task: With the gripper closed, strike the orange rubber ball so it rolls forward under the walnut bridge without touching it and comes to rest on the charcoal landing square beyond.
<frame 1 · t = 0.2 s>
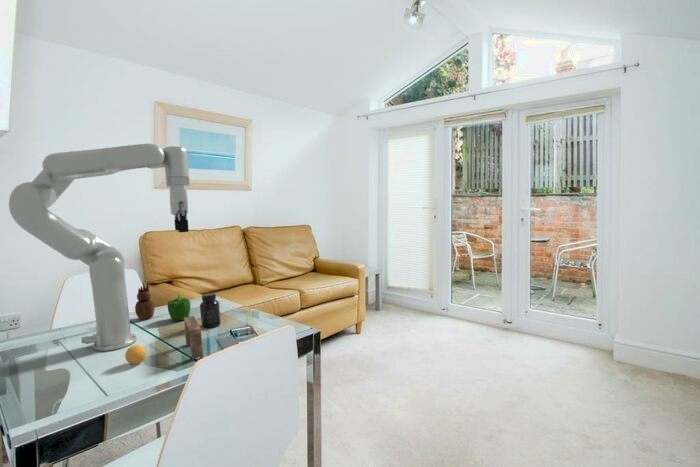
hand: (181, 231, 138), 36 cm above the table, tool pointing down, fingers open, 9 cm apart
supplement bottle: (211, 326, 146), on the table
ball: (135, 354, 115), on the table
bell pepper: (180, 319, 155), on the table
wooden figurine: (146, 318, 158), on the table
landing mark: (238, 341, 130), on the table
bridge: (194, 350, 123), on the table
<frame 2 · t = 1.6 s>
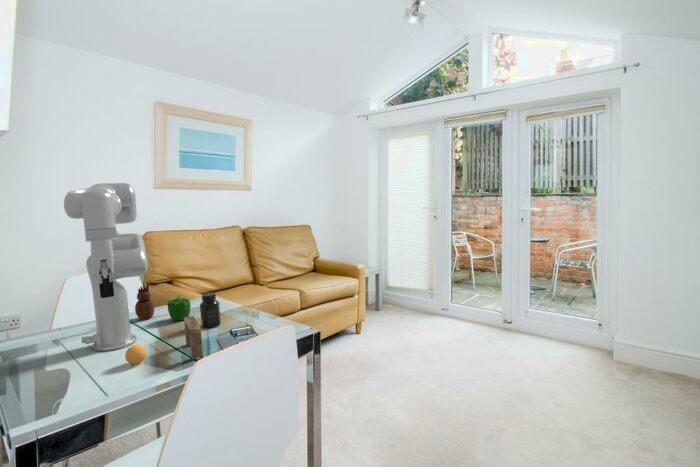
hand: (107, 294, 112), 21 cm above the table, tool pointing down, fingers open, 9 cm apart
nothing on the table moved.
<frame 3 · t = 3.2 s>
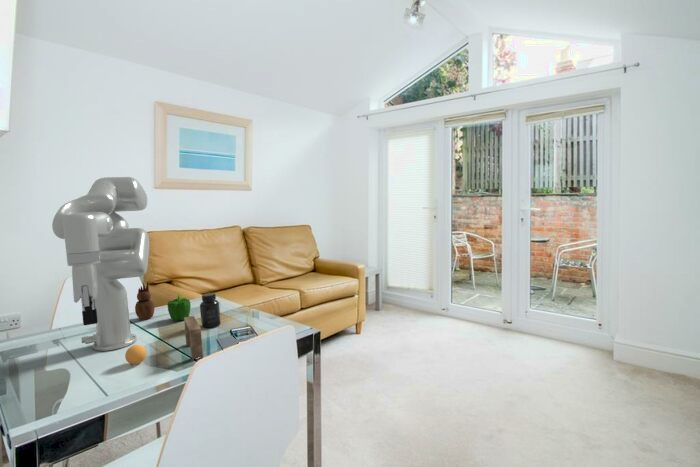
hand: (90, 323, 108), 14 cm above the table, tool pointing down, fingers closed
nothing on the table moved.
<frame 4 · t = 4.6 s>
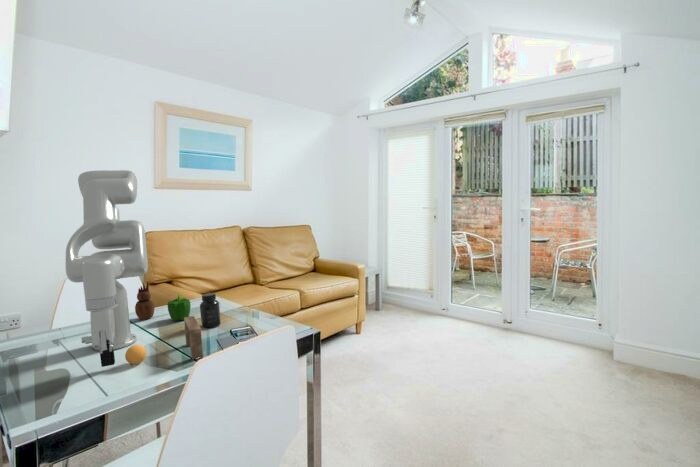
hand: (108, 364, 112), 1 cm above the table, tool pointing down, fingers closed
nothing on the table moved.
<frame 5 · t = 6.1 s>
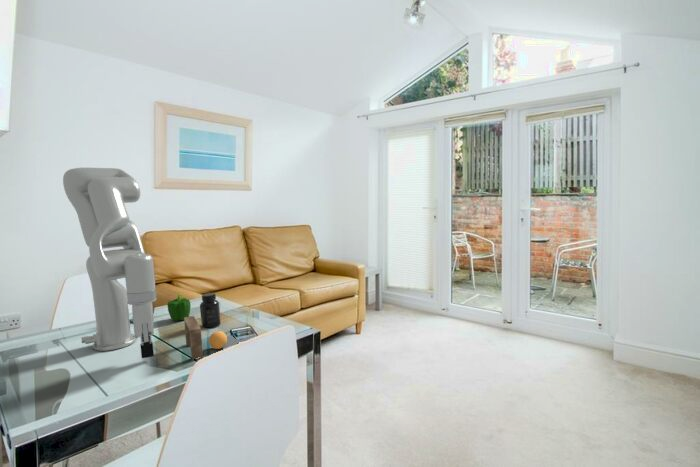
hand: (147, 356, 116), 2 cm above the table, tool pointing down, fingers closed
ball: (218, 340, 124), on the table
everything else where it was.
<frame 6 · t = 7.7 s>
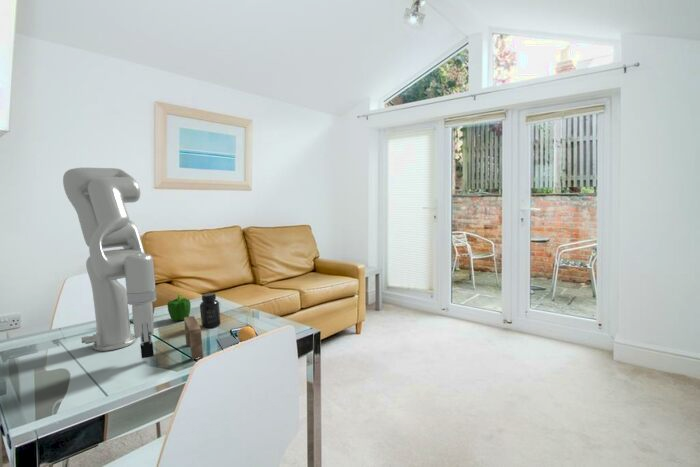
hand: (147, 356, 116), 2 cm above the table, tool pointing down, fingers closed
ball: (246, 335, 127), on the table
everything else where it was.
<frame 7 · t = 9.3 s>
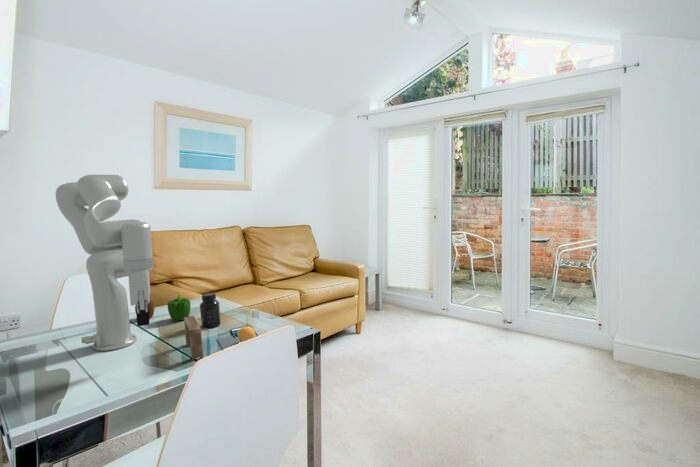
hand: (143, 324, 116), 11 cm above the table, tool pointing down, fingers closed
nothing on the table moved.
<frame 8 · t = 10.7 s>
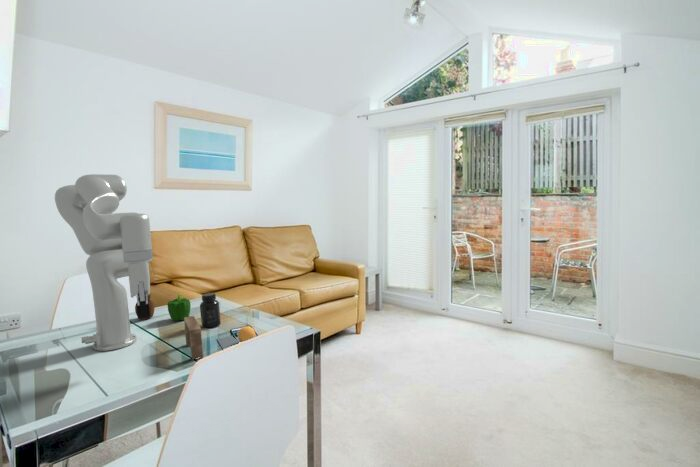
hand: (143, 317, 115), 14 cm above the table, tool pointing down, fingers closed
nothing on the table moved.
at the end: ball 3.8 cm from the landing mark (horizontally); ball never touched bridge; ball at rest at the end (0.0 cm/s) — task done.
